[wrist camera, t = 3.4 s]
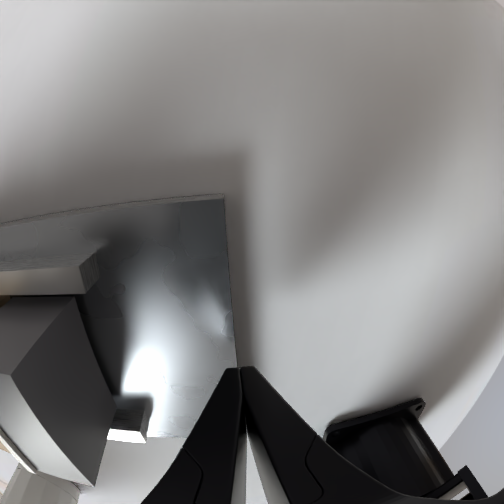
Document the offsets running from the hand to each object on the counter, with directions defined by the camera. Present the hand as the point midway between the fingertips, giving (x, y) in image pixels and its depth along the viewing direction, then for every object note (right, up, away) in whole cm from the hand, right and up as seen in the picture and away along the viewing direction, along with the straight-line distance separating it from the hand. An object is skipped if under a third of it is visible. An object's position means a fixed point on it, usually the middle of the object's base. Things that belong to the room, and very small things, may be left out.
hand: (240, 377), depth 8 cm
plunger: (-7, 0, 0) cm, 7 cm away
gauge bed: (-11, 0, +1) cm, 11 cm away
